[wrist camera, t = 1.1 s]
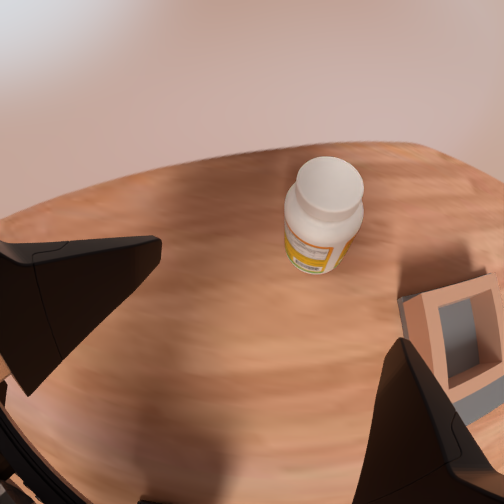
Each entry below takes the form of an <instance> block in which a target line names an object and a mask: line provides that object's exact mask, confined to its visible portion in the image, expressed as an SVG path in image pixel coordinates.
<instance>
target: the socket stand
mask: <svg viewBox="0 0 504 504" xmlns="http://www.w3.org/2000/svg"><path fill="white" fill-rule="evenodd" d="M397 301H398V306H399V311H400V317H401V322H402V328H403V334H404V338H405V339H408V340H410V341H411V343H412V344H413V345H414V347H415V348H416V350H417V351H418V353H419V354H420V355H421V357H422V358H423V360H424V361H425V363H426V364H427V366H428V367H429V369H430V370H431V371H432V373H433V374H434V376H435V377H436V379H437V381H438V382H439V384H440V385H441V387H442V388H443V390H444V391H445V393H446V394H447V396H448V398H449V399H450V401H451V402H452V404H453V406H454V407H455V409H456V411H457V412H458V414H459V416H460V417H461V419H462V421H463V422H464V424H465V425H466V426H467V425H469V424H471V423H473V422H474V421H476V420H478V419H479V418H481V417H483V416H484V415H486V414H488V413H489V412H491V411H492V410H494V409H495V408H497V407H498V406H500V405H501V404H503V403H504V306H503V301H502V296H501V291H500V287H499V283H498V279H497V275H496V272H494V273H489V274H486V275H483V276H479V277H476V278H473V279H469V280H466V281H463V282H459V283H455V284H452V285H448V286H445V287H441V288H437V289H433V290H429V291H425V292H421V293H417V294H413V295H409V296H405V297H401V298H399V299H397Z"/></svg>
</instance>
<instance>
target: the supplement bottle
mask: <svg viewBox="0 0 504 504" xmlns="http://www.w3.org/2000/svg"><path fill="white" fill-rule="evenodd" d="M363 192H364V185H363V180H362V178H361V176H360V174H359V172H358V171H357V170H356V169H355V168H354V167H353V166H352V165H351V164H349V163H348V162H346V161H344V160H342V159H339V158H336V157H329V156H322V157H316V158H313V159H311V160H309V161H308V162H306V163H305V164H304V165H303V166H302V167H301V168H300V170H299V171H298V174H297V179H296V182H295V183H294V184H293V185H292V186H291V187H290V189H289V191H288V192H287V195H286V198H285V204H284V219H285V250H286V254H287V256H288V258H289V260H290V261H291V263H292V264H293V265H294V266H295V267H297V268H298V269H299V270H301V271H303V272H306V273H309V274H323V273H327V272H329V271H331V270H333V269H334V268H335V267H337V266H338V264H339V263H340V262H341V261H342V259H343V257H344V256H345V254H346V252H347V250H348V248H349V246H350V245H351V243H352V241H353V239H354V238H355V236H356V234H357V232H358V231H359V228H360V226H361V223H362V220H363V215H364V208H363V203H362V200H361V199H362V196H363Z"/></svg>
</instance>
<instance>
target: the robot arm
mask: <svg viewBox="0 0 504 504" xmlns="http://www.w3.org/2000/svg"><path fill="white" fill-rule="evenodd" d="M161 250H162V241H161V239H159V238H157V237H155V236H152V235H150V236H133V237H117V238H102V239H88V240H75V241H70V242H69V241H61V242H44V243H6V242H3V241H0V504H36V503H35V502H34V501H33V499H32V498H31V497H29V496H28V495H26V494H25V493H24V492H23V491H22V489H21V488H20V487H19V486H18V485H17V484H15V483H14V482H13V481H12V480H11V479H10V477H11V476H12V475H13V474H14V473H15V474H16V475H17V476H19V477H20V478H21V479H22V480H23V481H24V482H23V484H24V485H25V486H26V487H27V488H28V489H30V490H31V491H33V493H34V494H35V495H36V496H35V497H36V498H37V499H38V500H39V501H40V502H42V503H43V504H93V503H92V502H91V501H90V500H88V499H87V498H86V497H85V496H84V495H82V494H81V493H80V492H79V491H78V490H77V489H75V488H74V487H73V486H72V485H71V484H70V483H69V482H68V481H67V480H66V479H65V478H63V477H62V476H61V475H60V474H59V473H58V472H57V471H56V470H55V469H54V468H53V467H52V466H51V465H50V464H49V462H48V461H47V460H46V459H45V458H44V457H43V456H42V455H41V454H40V453H39V452H38V450H37V449H36V448H35V447H34V446H33V445H32V443H31V442H30V441H29V440H28V439H27V437H26V436H25V435H24V434H23V432H22V431H21V430H20V428H19V427H18V426H17V424H16V423H15V422H14V420H13V419H12V418H11V416H10V415H9V413H8V412H7V411H6V409H5V400H6V392H7V383H6V382H5V380H4V379H6V378H7V377H8V376H10V375H12V376H13V378H14V379H15V381H16V382H17V383H18V385H19V386H20V388H21V389H22V390H23V392H24V393H25V394H26V395H27V397H29V396H30V395H31V394H32V393H33V392H34V391H35V390H36V389H37V388H38V387H39V386H40V384H41V383H42V382H43V381H44V380H45V379H46V378H47V377H48V376H49V375H50V374H51V373H52V372H53V371H54V369H55V368H56V367H57V366H58V365H59V364H60V363H61V362H62V360H64V359H65V358H66V357H67V356H68V355H69V354H70V353H71V352H72V351H73V350H74V349H75V348H76V347H77V346H78V345H79V344H80V343H81V342H82V341H83V340H84V339H85V338H86V337H87V336H88V335H89V334H90V333H91V332H92V331H93V330H94V329H95V328H96V327H97V326H98V325H99V324H100V323H101V322H102V321H103V320H104V319H105V318H106V317H107V316H108V315H109V314H111V313H112V312H113V311H114V310H115V309H116V308H117V307H118V306H119V305H120V304H121V303H122V302H123V301H124V300H125V299H126V298H128V297H129V296H130V295H131V294H132V293H133V292H134V291H135V290H136V289H137V288H138V287H139V286H140V285H141V283H142V282H143V281H144V280H145V279H146V278H147V277H148V276H149V274H150V273H151V272H152V271H153V270H154V269H155V268H156V267H157V266H158V264H159V263H160V260H161ZM141 503H142V504H162V503H156V502H149V501H144V500H140V501H138V503H137V504H141ZM352 504H504V475H502V474H500V473H498V472H497V471H496V470H495V469H494V468H493V467H492V466H491V464H490V463H489V461H488V460H487V458H486V457H485V455H484V453H483V452H482V450H481V449H480V447H479V446H478V444H477V443H476V441H475V440H474V438H473V437H472V435H471V433H470V432H469V430H468V429H467V427H466V425H465V424H464V422H463V421H462V419H461V417H460V416H459V414H458V412H457V411H456V409H455V407H454V406H453V404H452V402H451V401H450V399H449V398H448V396H447V394H446V393H445V391H444V390H443V388H442V387H441V385H440V384H439V382H438V381H437V379H436V377H435V376H434V374H433V373H432V371H431V370H430V369H429V367H428V366H427V364H426V363H425V361H424V360H423V358H422V357H421V355H420V354H419V353H418V351H417V350H416V348H415V347H414V345H413V344H412V343H411V341H410V340H408V339H405V338H402V337H400V338H398V339H397V340H396V342H395V343H394V344H393V346H392V347H391V349H390V350H389V352H388V353H387V355H386V356H385V359H384V363H383V368H382V373H381V377H380V382H379V386H378V390H377V394H376V399H375V405H374V412H373V418H372V424H371V429H370V435H369V440H368V445H367V449H366V454H365V458H364V462H363V466H362V470H361V474H360V478H359V482H358V485H357V489H356V492H355V495H354V499H353V502H352Z"/></svg>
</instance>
